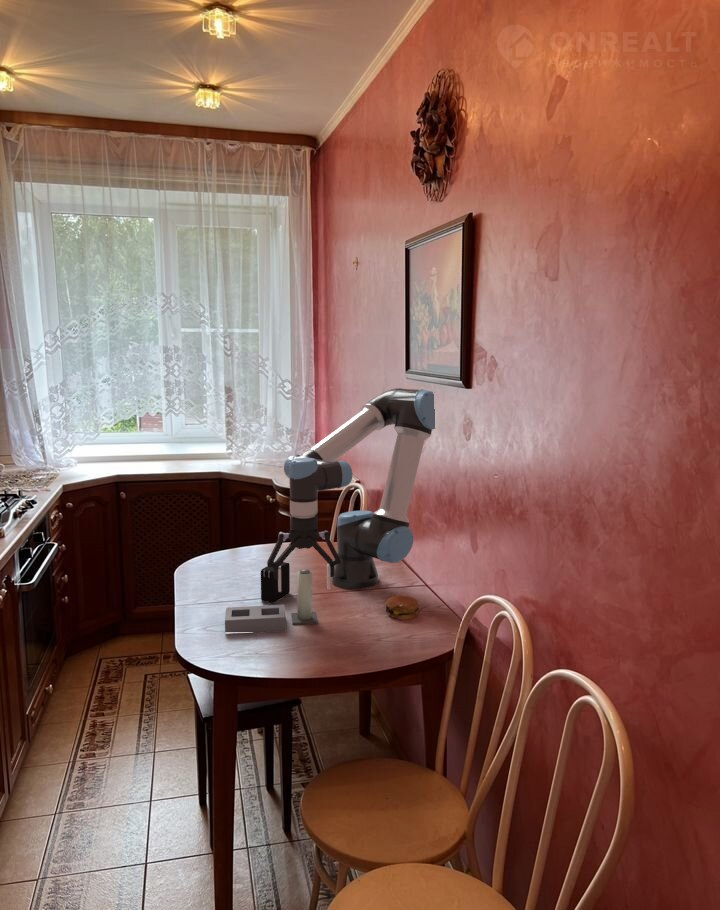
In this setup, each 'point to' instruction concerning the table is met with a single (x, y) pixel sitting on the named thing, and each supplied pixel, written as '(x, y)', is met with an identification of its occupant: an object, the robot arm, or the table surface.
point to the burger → (402, 607)
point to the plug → (304, 594)
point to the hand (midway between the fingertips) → (304, 589)
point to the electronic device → (274, 583)
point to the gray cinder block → (255, 619)
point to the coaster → (298, 621)
